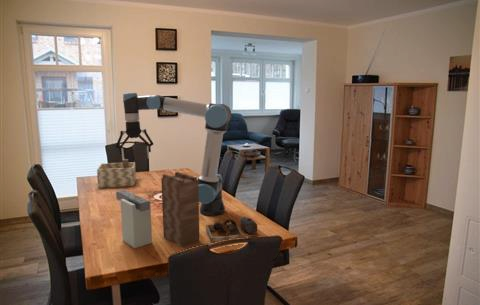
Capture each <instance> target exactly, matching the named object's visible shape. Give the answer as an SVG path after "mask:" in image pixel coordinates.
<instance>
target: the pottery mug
mask: <svg viewBox="0 0 480 305" xmlns="http://www.w3.org/2000/svg"><path fill="white" fill-rule="evenodd" d="M227 223H232V224H234V225H235V228H234V229H228V228H229V227H228V226H226V224H227ZM212 225H213V228H214V229H215V230H216V231H215V232H217V233H218V234H220V232H221V231H225V233H226V234H225V236H233V235H235V234H236V233H237V232H236V231H237V226H238V224H237V223H236V221H235V220H233V219H230V218H228V219H224V220H223V221H222V222H214V224H212ZM216 226H217V227H218V228H217V227H216Z"/></svg>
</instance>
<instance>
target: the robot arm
mask: <svg viewBox="0 0 480 305" xmlns="http://www.w3.org/2000/svg"><path fill="white" fill-rule="evenodd" d="M122 95H123V96H122V97H123V99H122V100H123V102H122V103H123V109H124V119H125V120H124V121H125V130H120V131H119V138H118V140H117V142H116V145H115V148H116V149H118V150H119V155H121V157H122V159H121V160H122V162H123V161H124V159H125V153H124V148H123V147H124V145H125V144H126V143H127V141H128V140H129V139H134V138H135V139H137V138H139V139H140V140H141V141H142V142H143V143H144V144H145V145H147V146H146V152H147V159H150V153H151V152H152V150H151V147H152V146H154V142H153V140H152V138H151V137H150V136H149V134H148V133H147V128H144V129H141V122H140V113H139V112H140V111H145V110H146V111H148V110H153V111H154V110H162V111H169V112H173V113H179V114H183V115H190V116H196V117H199V118H204V120H205V124H204V125H205V126H204V129H205V131H206V140H205V145H204V146H205V147H204V153H203V160H202V165H201V166H202V167H201V168H202V169H201V174H200V175H198V177H197V180H198V193H199V204H200V205H199V214H201V215H204V216H208V217H213V216H214V217H215V216H221V215H222V214H224V213H226V206H225V203H224V200H223V177H222V175H221V174H220V173H218V171H219V164H220V160H221V159H220V158H221V151H222V145H223V144H222V143H223V137H224V134H225V133H227V131H228V124H229V122H230V121H231V119H232V110H231V108H230V106H228V105H226V104H224V103H212V102H211V103H208V104H206V103H201V102H196V101H191V100H190V101H189V100H185V99H178V98H172V97H169V96H168V97H167V96H166V97H165V96H162V95H160V94H157V95H155V94H154V95H153V94H151V95H141V96H140V95H138V93H137V92H124V93H123V94H122ZM142 133H143V134H144V135H145V137H146V138H147V139H145V138H144V137H143V136H142V135H141V134H142ZM125 134H126V135H127V136H126V137H125V139H124V140H123V142H122V143H121V140H122V139H123V136H124V135H125ZM147 140H148V141H149V142H148V141H147Z"/></svg>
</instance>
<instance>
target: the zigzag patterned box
mask: <svg viewBox="0 0 480 305" xmlns="http://www.w3.org/2000/svg"><path fill="white" fill-rule="evenodd" d="M128 163H129V168H123V162H109V163H108V162H106V163H100V165H99V166H98V168H97V169H96V174H97V187H98V189H100V188H103V189H104V188H117V187H118V188H119V187H130V186H131V187H133V186H135V184H136V181H137V173H136V172H137V171H136V162H135V161H133V162H132V161H131V162H129V161H128Z"/></svg>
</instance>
